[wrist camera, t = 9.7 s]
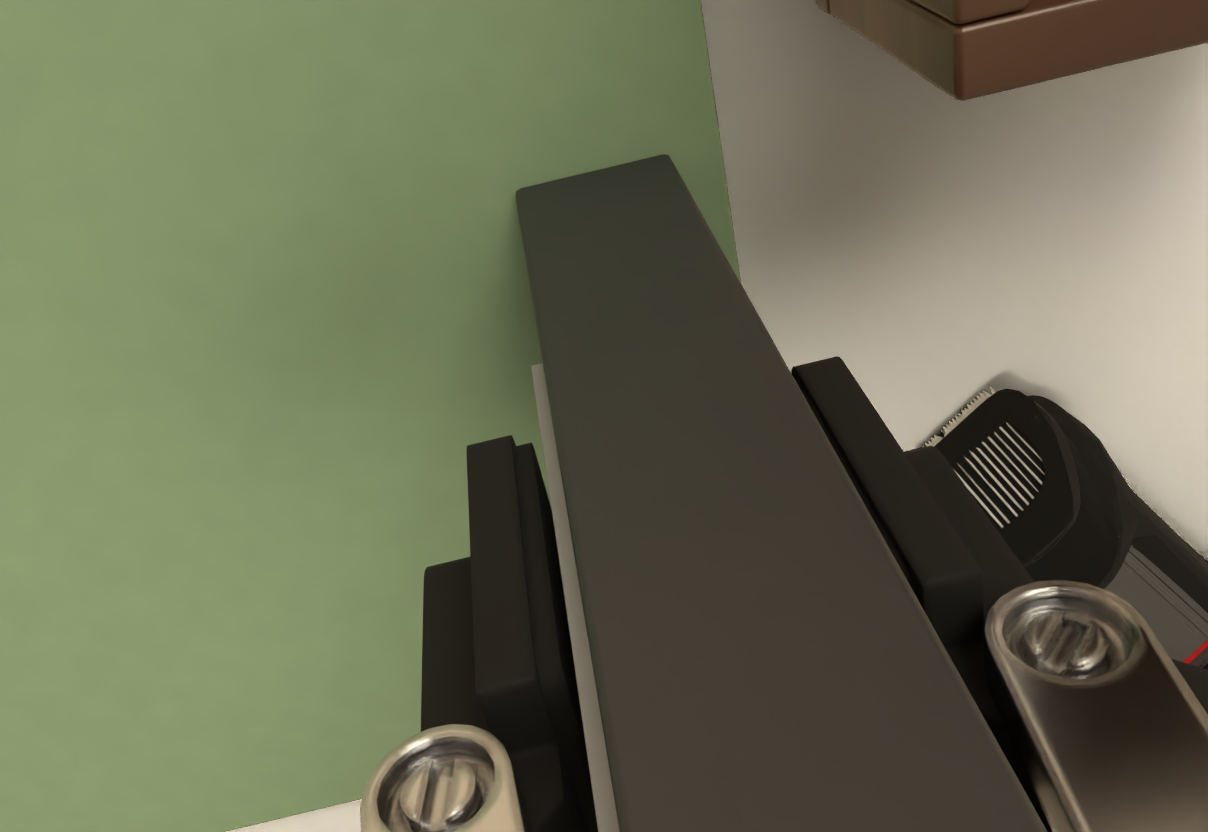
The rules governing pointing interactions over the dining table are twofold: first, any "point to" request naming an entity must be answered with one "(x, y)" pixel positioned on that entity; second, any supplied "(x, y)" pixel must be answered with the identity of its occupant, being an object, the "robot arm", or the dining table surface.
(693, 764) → the dark grey rectangular brick
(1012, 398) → the electric trimmer
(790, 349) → the dining table surface
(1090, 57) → the holder
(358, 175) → the mat
